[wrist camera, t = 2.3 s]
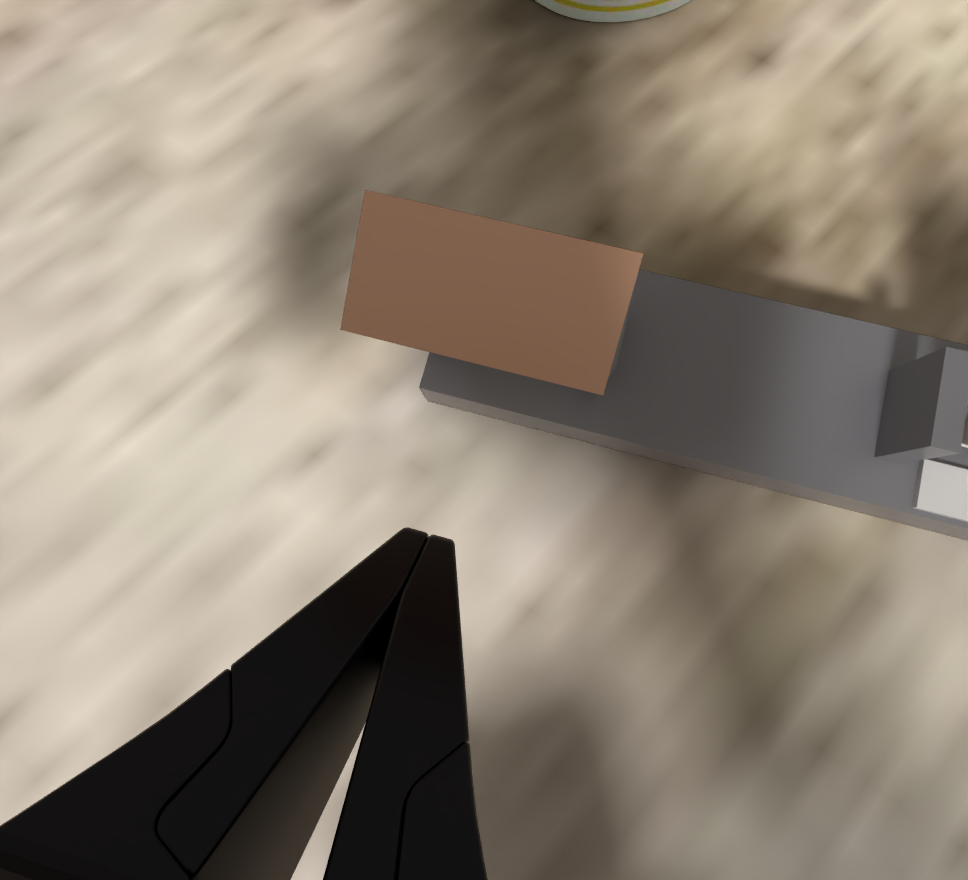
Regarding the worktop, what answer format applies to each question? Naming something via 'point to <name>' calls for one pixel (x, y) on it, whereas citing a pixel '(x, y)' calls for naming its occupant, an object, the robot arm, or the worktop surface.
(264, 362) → the worktop surface
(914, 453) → the switch base
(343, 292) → the worktop surface
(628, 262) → the block
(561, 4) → the air freshener
